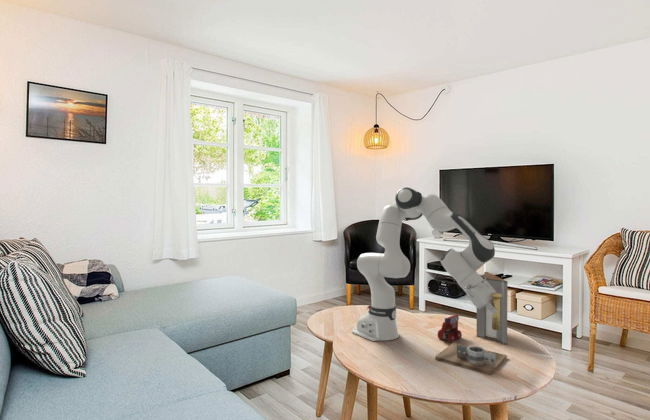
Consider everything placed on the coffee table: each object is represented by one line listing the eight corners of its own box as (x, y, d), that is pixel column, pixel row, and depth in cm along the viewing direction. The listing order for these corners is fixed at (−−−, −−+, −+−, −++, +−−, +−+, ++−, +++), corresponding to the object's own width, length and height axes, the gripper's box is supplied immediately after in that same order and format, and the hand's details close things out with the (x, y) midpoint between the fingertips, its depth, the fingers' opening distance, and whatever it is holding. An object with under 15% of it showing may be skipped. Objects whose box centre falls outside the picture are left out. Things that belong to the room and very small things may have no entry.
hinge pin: (488, 329, 155) (489, 294, 155) (492, 326, 158) (492, 292, 158) (499, 331, 152) (499, 295, 152) (502, 329, 155) (503, 293, 155)
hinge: (454, 359, 156) (454, 347, 155) (460, 354, 160) (460, 342, 160) (492, 369, 146) (492, 356, 146) (497, 364, 151) (497, 351, 151)
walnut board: (435, 359, 159) (435, 356, 159) (453, 345, 173) (453, 342, 173) (491, 375, 145) (491, 371, 145) (506, 358, 159) (506, 355, 159)
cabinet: (507, 344, 173) (507, 281, 172) (485, 344, 173) (485, 281, 172) (487, 328, 194) (487, 271, 193) (467, 328, 194) (467, 272, 193)
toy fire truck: (434, 340, 180) (434, 317, 179) (450, 333, 187) (450, 312, 187) (447, 344, 174) (447, 321, 174) (463, 337, 182) (463, 315, 182)
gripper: (470, 283, 151) (497, 312, 145) (484, 274, 167) (509, 301, 161) (458, 293, 153) (484, 322, 148) (473, 284, 170) (497, 310, 164)
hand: (497, 311), depth 155 cm, fingers closed on hinge pin, 3 cm apart
